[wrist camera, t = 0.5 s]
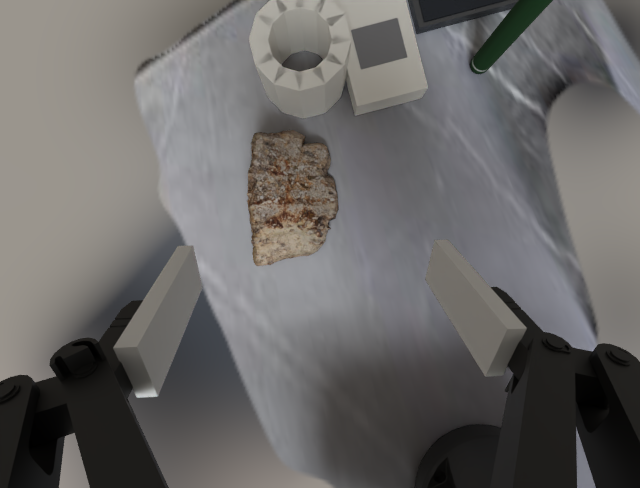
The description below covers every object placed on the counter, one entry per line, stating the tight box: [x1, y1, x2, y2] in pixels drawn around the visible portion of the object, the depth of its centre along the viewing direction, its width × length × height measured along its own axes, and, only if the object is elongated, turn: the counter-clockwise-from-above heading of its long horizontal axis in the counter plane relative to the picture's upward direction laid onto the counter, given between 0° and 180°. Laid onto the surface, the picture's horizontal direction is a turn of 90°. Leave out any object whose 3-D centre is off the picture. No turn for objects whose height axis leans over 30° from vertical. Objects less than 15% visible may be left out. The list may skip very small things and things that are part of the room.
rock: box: [247, 130, 338, 266], centre depth 33 cm, size 15×10×6 cm
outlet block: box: [249, 0, 428, 119], centre depth 32 cm, size 12×17×6 cm
